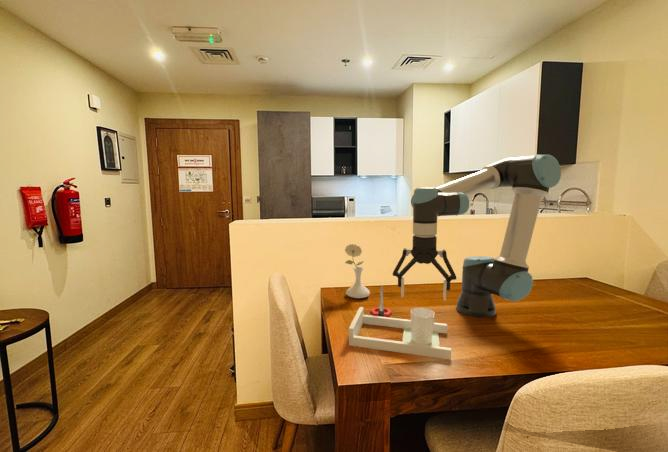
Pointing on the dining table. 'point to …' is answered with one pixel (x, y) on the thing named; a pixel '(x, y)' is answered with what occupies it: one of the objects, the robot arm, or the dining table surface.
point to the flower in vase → (357, 288)
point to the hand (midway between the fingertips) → (423, 297)
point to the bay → (396, 346)
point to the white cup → (422, 325)
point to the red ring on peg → (381, 307)
